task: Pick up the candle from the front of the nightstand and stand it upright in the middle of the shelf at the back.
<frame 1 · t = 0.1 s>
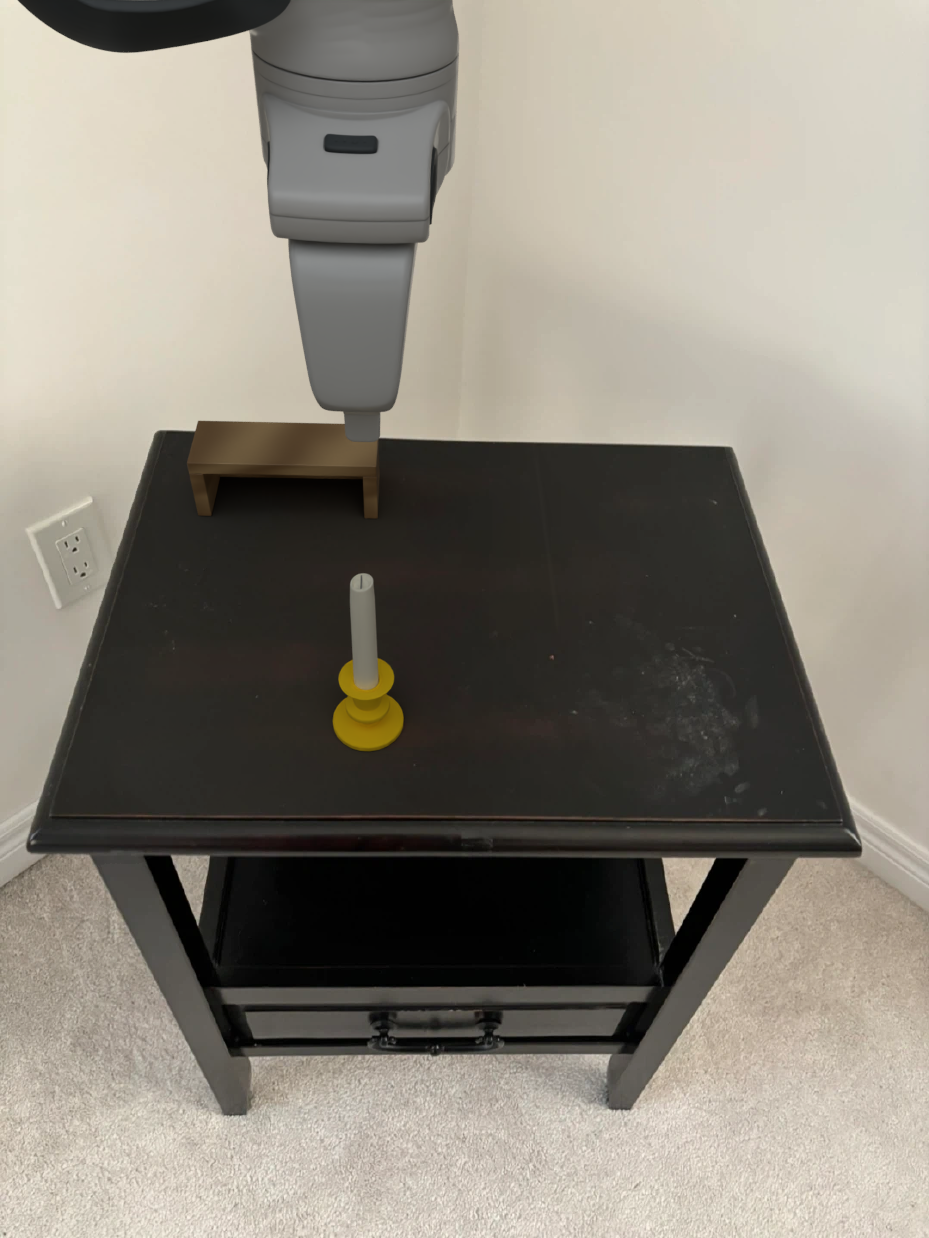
hand: (367, 382, 52), 27 cm above the table, tool pointing down, fingers open, 8 cm apart
shelf: (291, 495, 86), on the table
candle: (368, 724, 69), on the table
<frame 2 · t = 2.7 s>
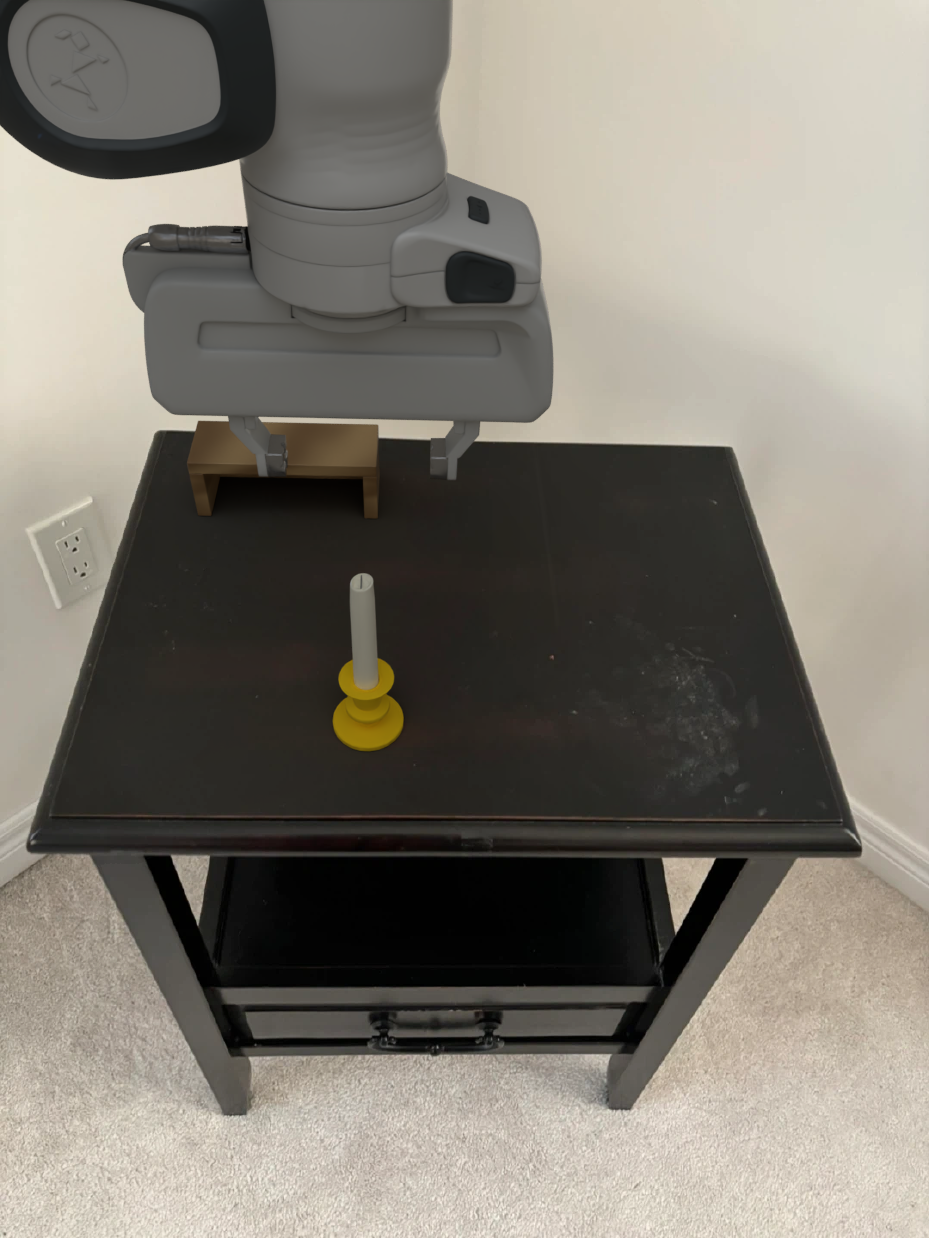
hand: (358, 471, 52), 23 cm above the table, tool pointing down, fingers open, 8 cm apart
nothing on the table moved.
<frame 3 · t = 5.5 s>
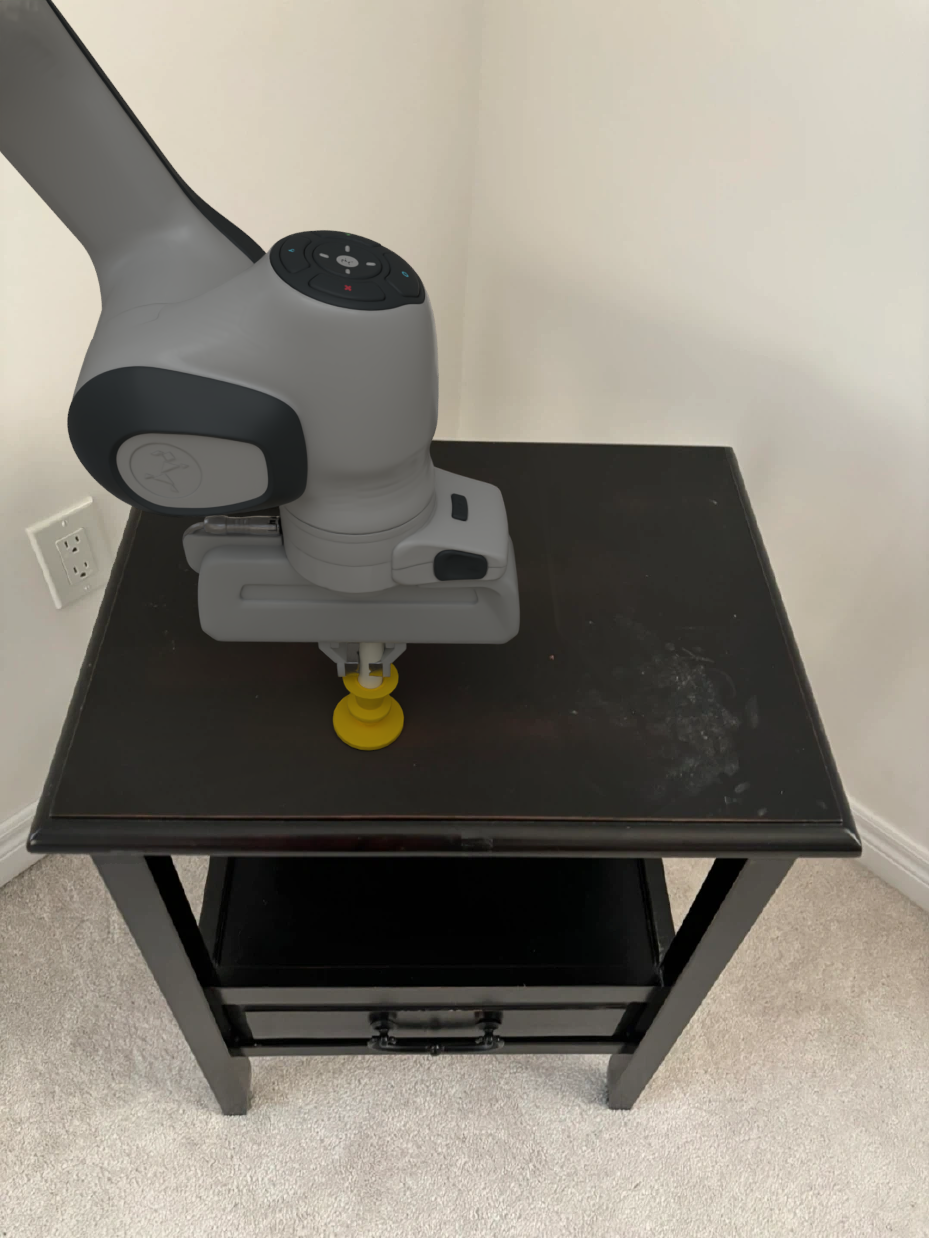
hand: (365, 669, 64), 6 cm above the table, tool pointing down, fingers closed on candle
candle: (368, 723, 69), on the table, touching gripper
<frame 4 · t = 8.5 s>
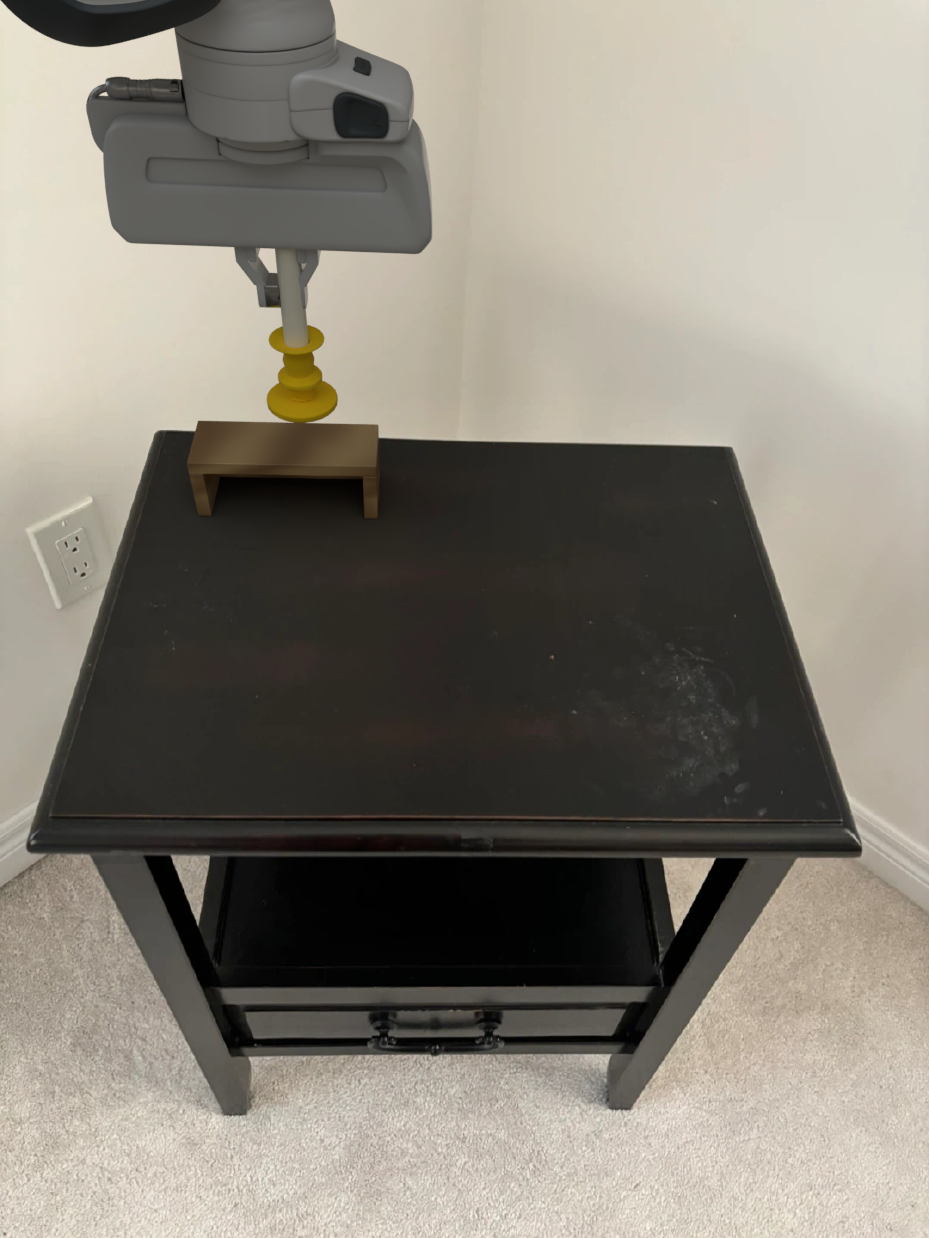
hand: (284, 304, 64), 23 cm above the table, tool pointing down, fingers closed on candle
candle: (302, 404, 70), point 15 cm above the table, touching gripper
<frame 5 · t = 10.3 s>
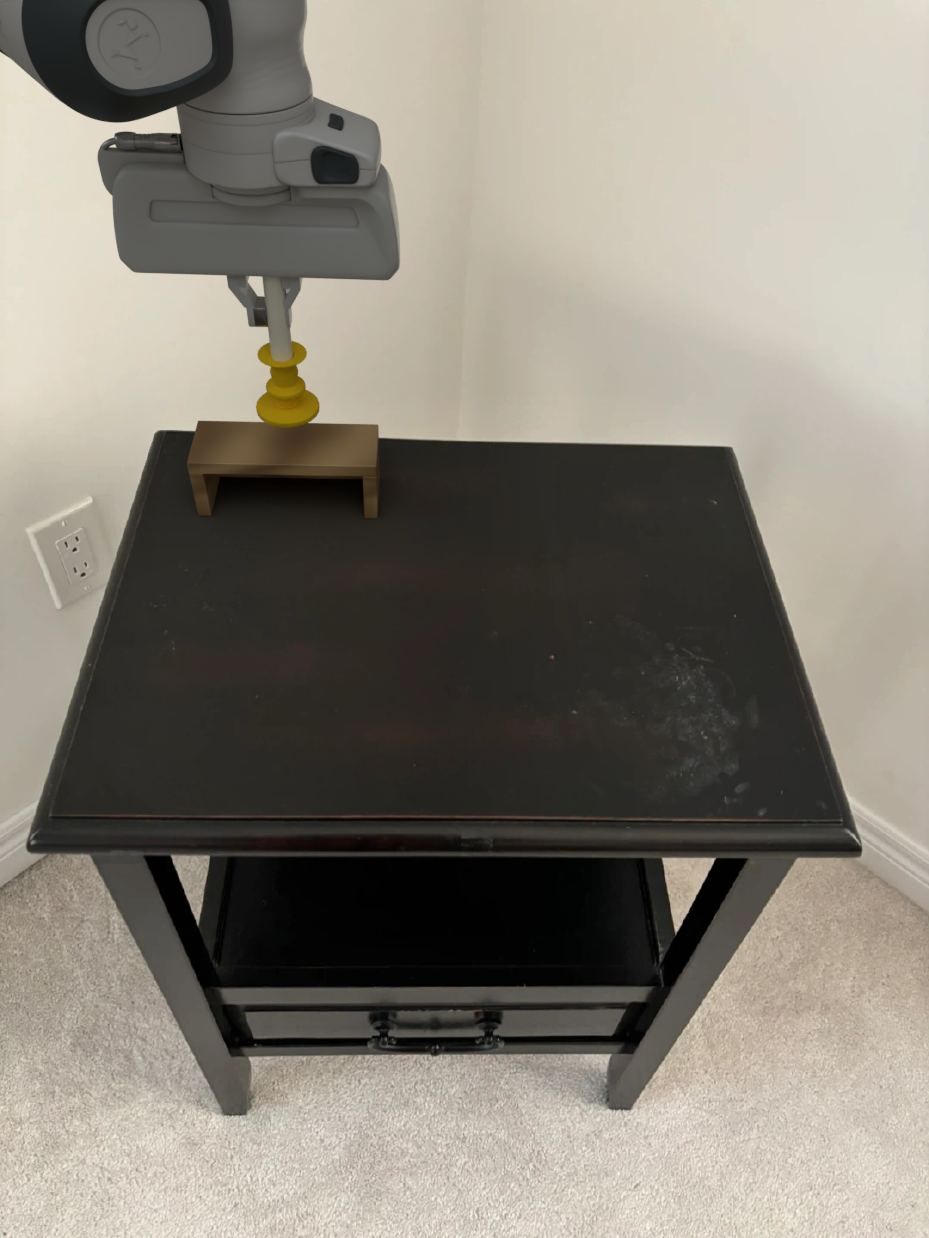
hand: (271, 323, 73), 18 cm above the table, tool pointing down, fingers closed on candle
candle: (288, 411, 78), point 10 cm above the table, touching gripper
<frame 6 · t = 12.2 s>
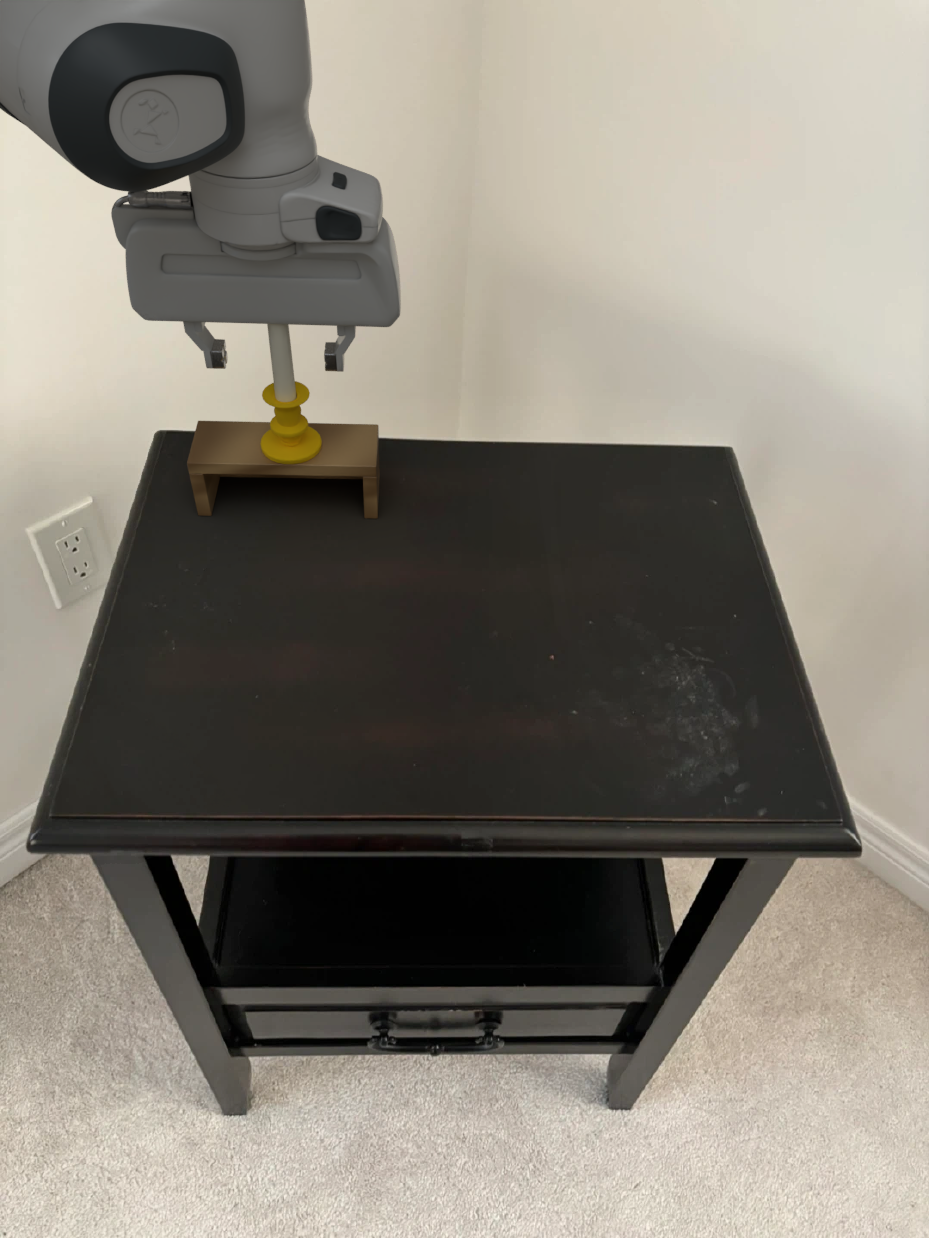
hand: (276, 366, 75), 14 cm above the table, tool pointing down, fingers open, 8 cm apart
candle: (291, 447, 81), point 6 cm above the table, touching shelf
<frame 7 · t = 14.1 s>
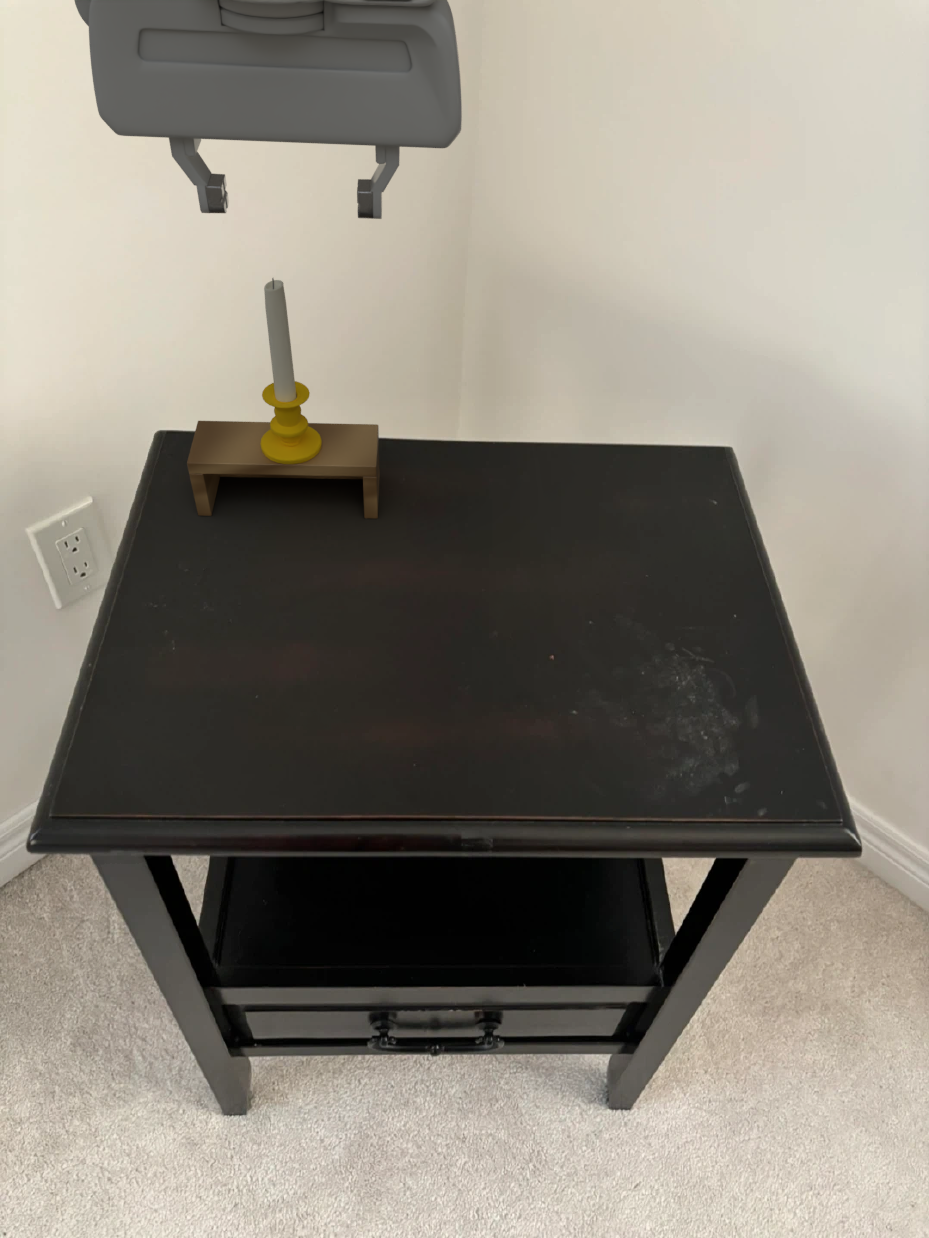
hand: (293, 212, 57), 30 cm above the table, tool pointing down, fingers open, 8 cm apart
nothing on the table moved.
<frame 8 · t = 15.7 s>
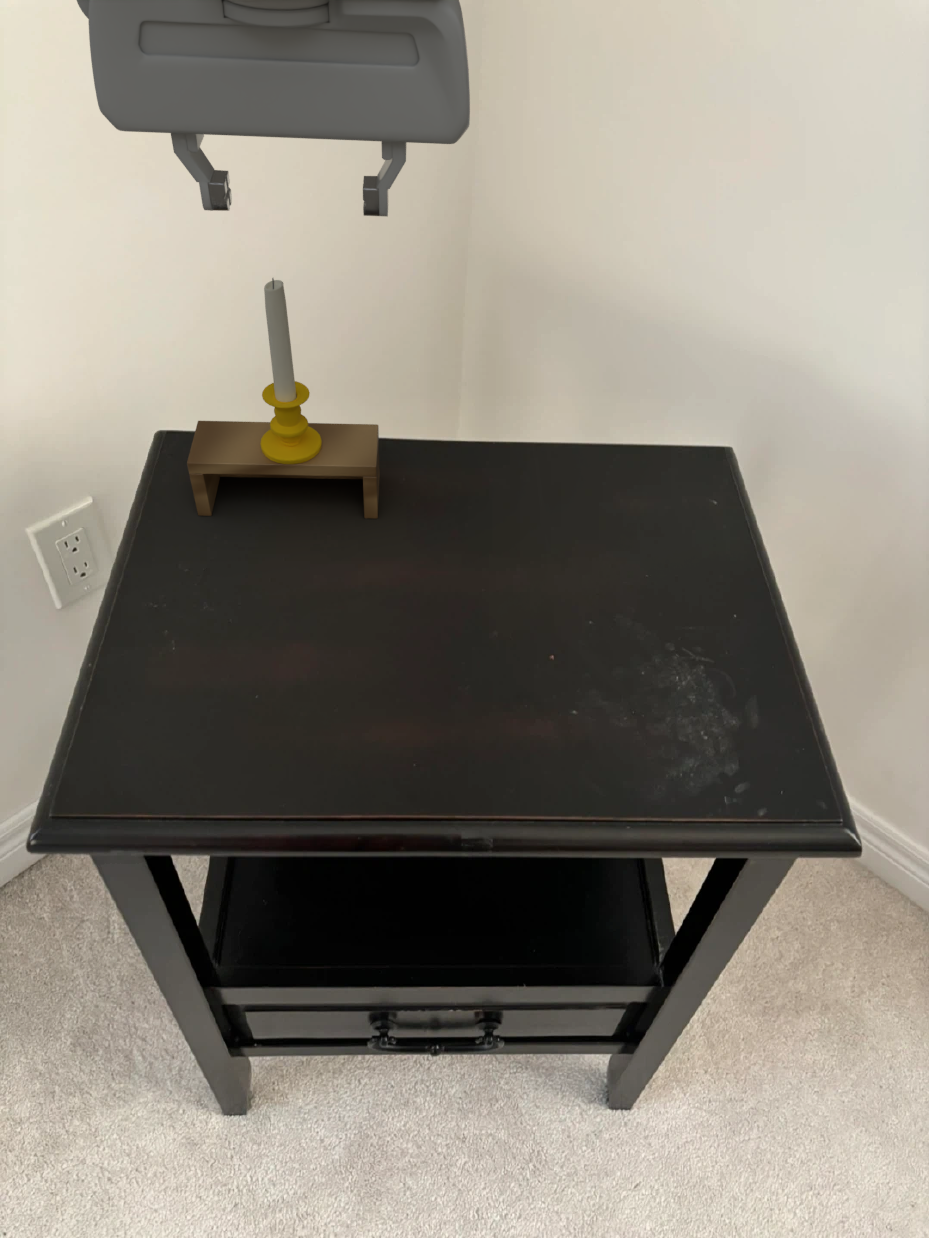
hand: (297, 209, 56), 31 cm above the table, tool pointing down, fingers open, 8 cm apart
nothing on the table moved.
at the end: candle inside the target area on the shelf (0.8 cm from its centre), point 5.8 cm above the shelf's base; candle tilted 0°; the gripper is holding nothing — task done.
